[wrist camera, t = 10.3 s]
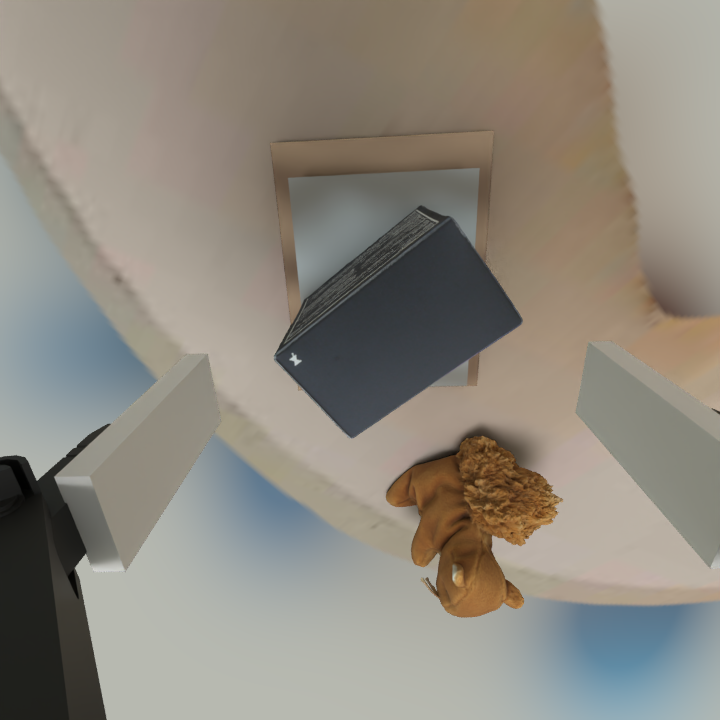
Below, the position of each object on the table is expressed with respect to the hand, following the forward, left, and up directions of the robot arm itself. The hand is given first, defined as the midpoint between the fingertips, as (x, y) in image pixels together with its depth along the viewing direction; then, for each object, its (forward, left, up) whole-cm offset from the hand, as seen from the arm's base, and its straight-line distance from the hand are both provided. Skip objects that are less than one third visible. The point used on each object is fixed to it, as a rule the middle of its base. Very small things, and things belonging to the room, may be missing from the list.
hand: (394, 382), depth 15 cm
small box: (0, 0, -16) cm, 16 cm away
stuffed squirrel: (+21, +7, -22) cm, 32 cm away
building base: (0, 0, -22) cm, 22 cm away
